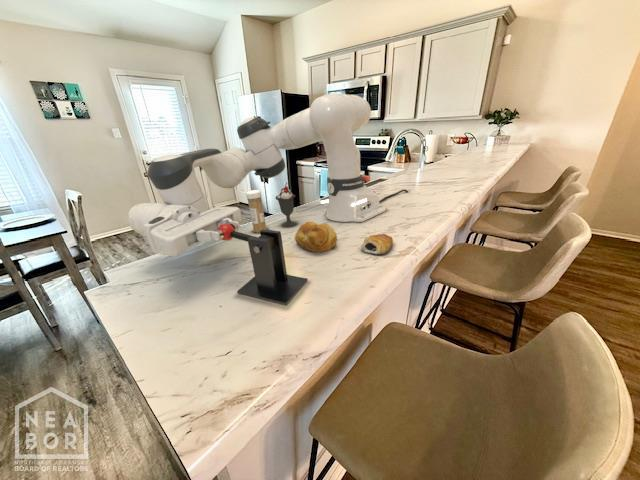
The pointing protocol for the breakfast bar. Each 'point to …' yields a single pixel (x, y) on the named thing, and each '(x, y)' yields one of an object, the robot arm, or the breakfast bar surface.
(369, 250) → the pastry
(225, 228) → the switch lever
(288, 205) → the sundae
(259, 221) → the sprinkles bottle
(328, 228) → the bread roll
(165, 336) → the breakfast bar surface
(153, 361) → the breakfast bar surface
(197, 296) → the breakfast bar surface
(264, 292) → the switch base
